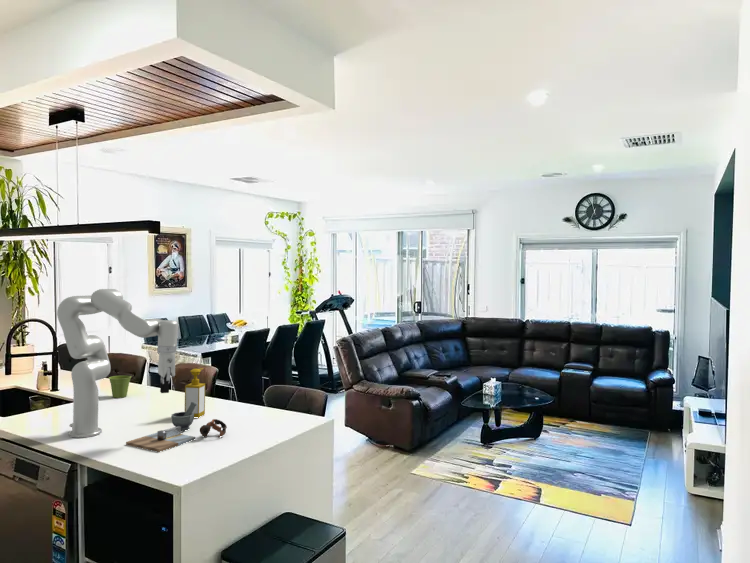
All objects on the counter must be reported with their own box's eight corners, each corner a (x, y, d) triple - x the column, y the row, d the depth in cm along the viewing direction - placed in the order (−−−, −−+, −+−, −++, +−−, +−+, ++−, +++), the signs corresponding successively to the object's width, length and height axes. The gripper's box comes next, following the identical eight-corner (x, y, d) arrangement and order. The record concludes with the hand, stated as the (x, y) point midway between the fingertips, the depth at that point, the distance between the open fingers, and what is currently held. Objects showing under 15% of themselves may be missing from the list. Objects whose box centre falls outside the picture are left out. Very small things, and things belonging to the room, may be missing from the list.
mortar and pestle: (175, 433, 232) (175, 406, 232) (167, 429, 239) (168, 402, 239) (200, 429, 239) (200, 403, 239) (192, 425, 246) (192, 399, 246)
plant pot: (135, 396, 303) (135, 376, 303) (116, 400, 293) (116, 379, 293) (123, 393, 310) (123, 374, 310) (103, 397, 300) (104, 377, 300)
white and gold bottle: (209, 412, 271) (210, 366, 271) (198, 418, 258) (199, 370, 258) (195, 411, 271) (196, 365, 271) (184, 417, 259) (185, 369, 259)
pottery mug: (211, 433, 236) (220, 417, 235) (223, 446, 231) (232, 430, 230) (190, 432, 225) (200, 416, 225) (202, 446, 220) (213, 429, 220)
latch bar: (160, 440, 217) (160, 432, 217) (155, 438, 219) (155, 431, 219) (181, 434, 226) (182, 427, 226) (176, 432, 228) (177, 425, 228)
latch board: (125, 444, 215) (125, 441, 215) (163, 433, 232) (163, 430, 232) (159, 452, 207) (159, 449, 207) (195, 439, 224) (195, 436, 224)
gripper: (181, 351, 220) (178, 395, 221) (171, 346, 233) (169, 388, 233) (162, 352, 216) (159, 397, 216) (153, 347, 228) (151, 389, 228)
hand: (164, 392), depth 224 cm, fingers closed
